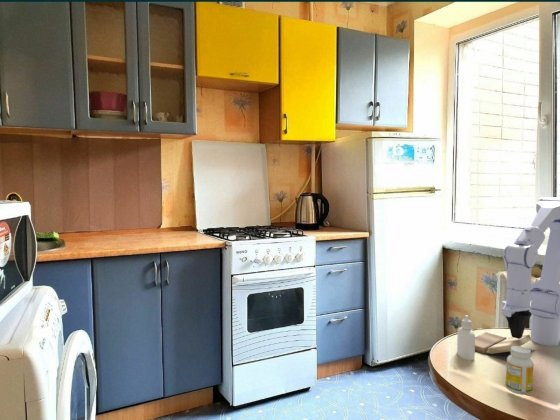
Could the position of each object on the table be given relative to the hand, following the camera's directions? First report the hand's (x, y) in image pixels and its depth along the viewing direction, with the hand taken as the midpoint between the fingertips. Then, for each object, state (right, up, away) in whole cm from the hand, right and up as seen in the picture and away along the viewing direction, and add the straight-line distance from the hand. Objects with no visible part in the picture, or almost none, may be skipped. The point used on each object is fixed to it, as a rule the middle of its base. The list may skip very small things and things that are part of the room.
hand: (516, 337), depth 115 cm
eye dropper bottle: (-14, -6, -1) cm, 16 cm away
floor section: (-3, -5, +4) cm, 7 cm away
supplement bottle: (-10, -7, -18) cm, 22 cm away
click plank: (-1, -3, +2) cm, 4 cm away
